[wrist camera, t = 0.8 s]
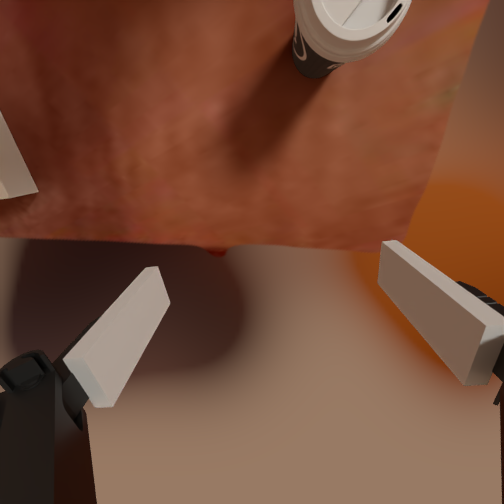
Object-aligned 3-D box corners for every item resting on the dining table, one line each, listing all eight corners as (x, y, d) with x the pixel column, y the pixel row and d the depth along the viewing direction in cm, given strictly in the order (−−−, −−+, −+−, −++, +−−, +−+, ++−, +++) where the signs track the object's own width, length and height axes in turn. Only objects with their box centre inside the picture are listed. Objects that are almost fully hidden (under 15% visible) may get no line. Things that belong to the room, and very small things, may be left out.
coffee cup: (297, 106, 33) (323, 79, 19) (267, 27, 30) (275, -71, 16) (363, 67, 31) (445, 7, 17) (341, -22, 28) (421, -183, 14)
